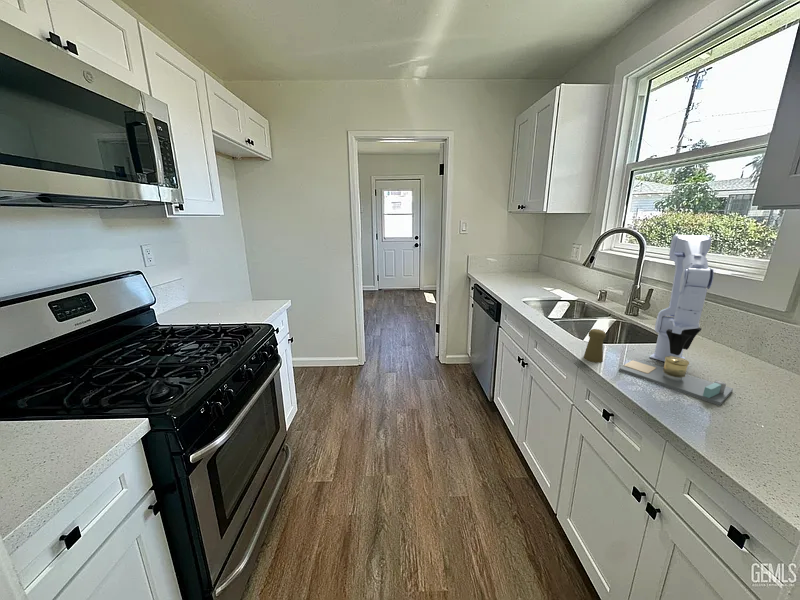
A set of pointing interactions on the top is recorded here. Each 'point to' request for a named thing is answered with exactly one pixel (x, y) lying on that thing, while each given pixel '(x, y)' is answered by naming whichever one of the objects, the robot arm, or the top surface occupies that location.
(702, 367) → the top surface
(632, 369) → the post board
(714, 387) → the lock lever
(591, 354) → the pepper shaker
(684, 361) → the cap
